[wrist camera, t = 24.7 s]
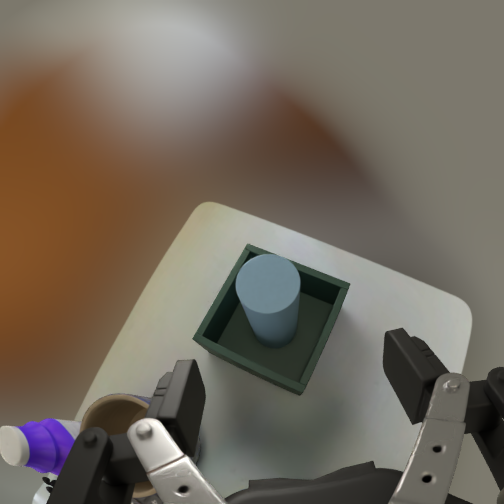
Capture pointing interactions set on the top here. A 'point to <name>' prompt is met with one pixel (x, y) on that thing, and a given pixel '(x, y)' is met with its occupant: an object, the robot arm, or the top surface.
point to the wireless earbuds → (49, 483)
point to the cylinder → (270, 298)
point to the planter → (123, 424)
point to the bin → (259, 356)
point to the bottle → (39, 444)
